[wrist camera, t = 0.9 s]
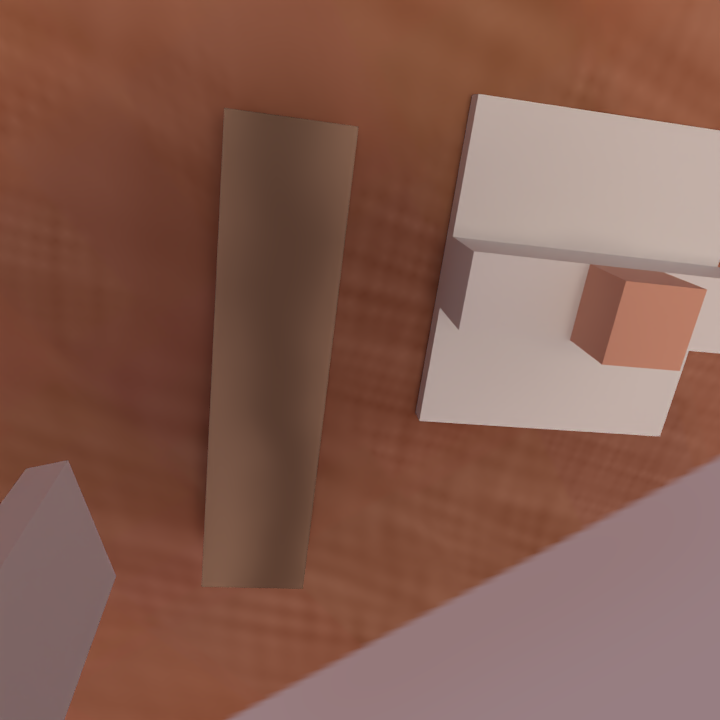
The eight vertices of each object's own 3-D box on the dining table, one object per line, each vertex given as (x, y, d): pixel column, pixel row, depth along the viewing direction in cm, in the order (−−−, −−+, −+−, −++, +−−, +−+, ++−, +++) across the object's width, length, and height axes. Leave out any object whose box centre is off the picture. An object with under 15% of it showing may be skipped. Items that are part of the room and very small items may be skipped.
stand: (415, 412, 33) (450, 489, 26) (472, 94, 27) (535, 85, 21) (649, 428, 35) (739, 503, 28) (746, 136, 30) (887, 140, 23)
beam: (212, 524, 35) (201, 586, 30) (234, 110, 27) (224, 107, 22) (300, 527, 35) (302, 588, 31) (346, 125, 28) (358, 126, 23)
